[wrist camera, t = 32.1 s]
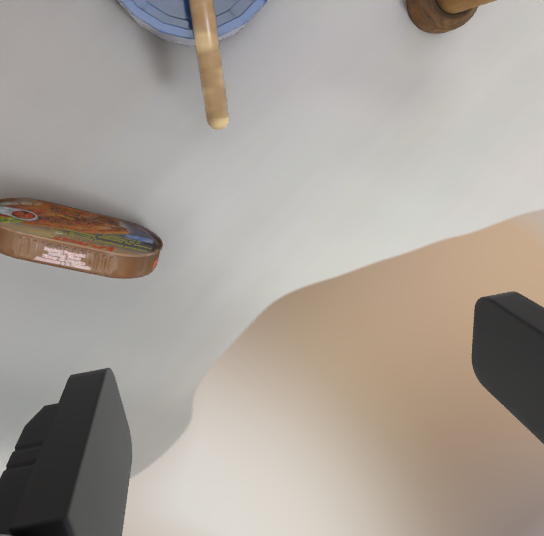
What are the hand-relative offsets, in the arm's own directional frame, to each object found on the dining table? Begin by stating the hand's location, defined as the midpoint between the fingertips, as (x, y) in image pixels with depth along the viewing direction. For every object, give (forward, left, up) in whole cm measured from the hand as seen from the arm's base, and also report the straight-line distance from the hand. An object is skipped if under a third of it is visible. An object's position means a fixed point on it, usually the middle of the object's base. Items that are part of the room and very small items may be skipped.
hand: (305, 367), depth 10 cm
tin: (-13, -5, -38) cm, 41 cm away
